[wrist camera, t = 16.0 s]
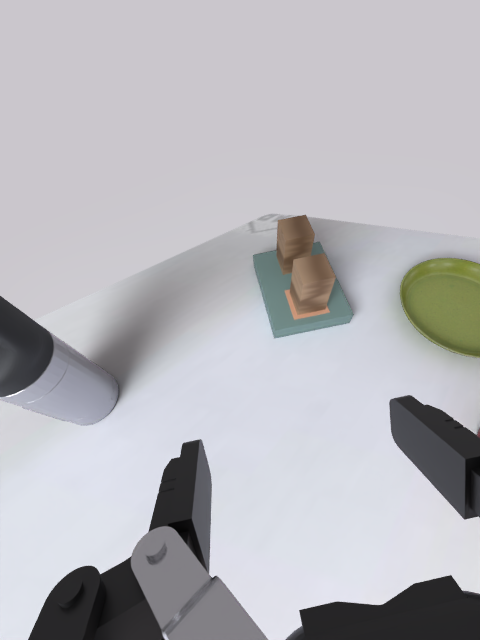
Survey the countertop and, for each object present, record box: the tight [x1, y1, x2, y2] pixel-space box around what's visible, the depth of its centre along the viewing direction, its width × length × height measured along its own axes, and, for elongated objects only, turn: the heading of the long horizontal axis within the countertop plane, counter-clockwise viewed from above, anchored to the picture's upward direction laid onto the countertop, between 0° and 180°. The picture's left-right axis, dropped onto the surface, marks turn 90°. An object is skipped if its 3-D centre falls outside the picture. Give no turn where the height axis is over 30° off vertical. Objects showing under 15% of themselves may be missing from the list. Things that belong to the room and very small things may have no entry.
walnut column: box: [276, 215, 315, 275], centre depth 52 cm, size 5×5×9 cm
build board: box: [253, 242, 353, 338], centre depth 55 cm, size 14×18×3 cm
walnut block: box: [290, 253, 336, 315], centre depth 47 cm, size 5×5×9 cm
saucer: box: [400, 258, 480, 358], centre depth 50 cm, size 21×21×3 cm
